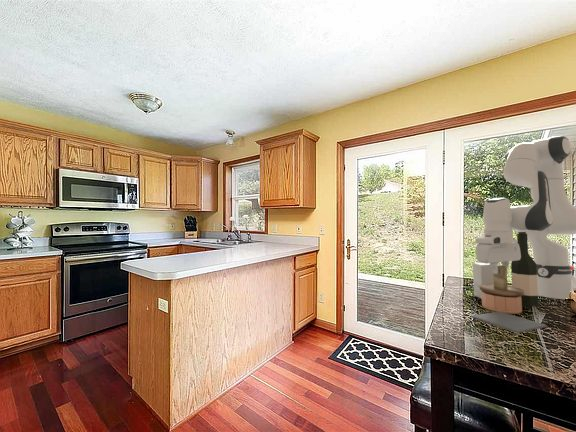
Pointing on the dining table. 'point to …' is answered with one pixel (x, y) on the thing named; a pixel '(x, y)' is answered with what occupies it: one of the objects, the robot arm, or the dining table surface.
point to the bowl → (502, 303)
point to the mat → (509, 321)
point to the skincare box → (482, 277)
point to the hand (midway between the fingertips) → (500, 273)
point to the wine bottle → (525, 273)
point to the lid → (501, 285)
